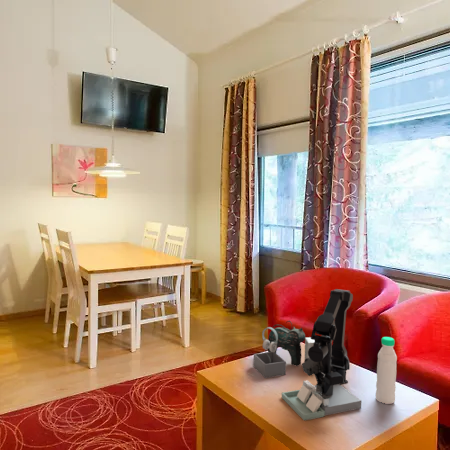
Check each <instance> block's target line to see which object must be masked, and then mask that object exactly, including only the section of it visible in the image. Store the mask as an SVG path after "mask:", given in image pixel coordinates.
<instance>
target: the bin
mask: <svg viewBox="0 0 450 450" xmlns="http://www.w3.org/2000/svg"><path fill="white" fill-rule="evenodd" d="M299 390H300V389H295V390H290V391H284V392H281V398H282V400H283V401H284V402H285V403H286V404H287V405H288V406H289V407H290V408H291V409H292V410H293V411H294V412H295V413H296V414H297V415H298V416H299V417H300V418H301V419H302V420H303V421H310V420H314V419H320V418H324V417H325V416H326V415H325V411H324V410H323V409H322V408H321V407H319V408H318V410H317V412H312V411H311V410H310V409H309V408H308V407H307V406H306V404H307V403H308V401H309V399H310V398H308V400H307V402H306V403H303V402H302V401H301V400H300V399H299V398H298V397H297V394H298V392H299Z"/></svg>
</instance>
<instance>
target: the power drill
mask: <svg viewBox="0 0 450 450" xmlns="http://www.w3.org/2000/svg"><path fill="white" fill-rule="evenodd" d="M288 322H289V323H290V324H291V325H293V322H292V321H291V320H287V321H286V323H285V324H287V323H288ZM275 326H276V327H275ZM279 326H280V327H279ZM279 326H278V327H277V324H274V325H272V327H271V328H273V329H274V330H275V331H276V332H277V334H278V341H277V349H276V351H275V353H276V354H277V351H278V347H280V348H281V349H283V350H285V351H287V352H288V353H289V357H290V365H291V366H295V367H298V366H300V365H301V366H302V357H303V356H302V346H301V343H303V342H305V338H306V334H305V332H304V330H303V328H302V327H300V328H296V327H295V326H291V329H289V328H288V327H287V328H286V327H285V326H284V325H282V324H279ZM267 340H269V341H270V344H271V342H276V336H275V334H274V332H273V331H272V330H271V331H270V332H269V334H268V339H267ZM267 352H271V351H270V349H268V350H267Z"/></svg>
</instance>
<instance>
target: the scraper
mask: <svg viewBox="0 0 450 450" xmlns="http://www.w3.org/2000/svg"><path fill="white" fill-rule="evenodd" d="M302 385H304V386H306V387H307V388H308V389H309V390H310V391H311V395H312V394H314V395H315V396H316V397H318V398H319V399H320V400H321V401H322V404H323V405H324V406H326V405H329V398H328V397H327V396H330V395H333V385H331V386H330V387H329V389H328V391H327V393H326V394H323V386H322V383H319V384H317V383H316V384H312V383H311V382H310V381H309V380H308V379H307V380H303V381H302ZM314 385H316V387H315V386H314Z"/></svg>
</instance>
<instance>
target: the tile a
mask: <svg viewBox="0 0 450 450" xmlns="http://www.w3.org/2000/svg"><path fill="white" fill-rule="evenodd" d="M298 390H299V392H298V394H297V397H298V398H299V399H300V400H301V401H302V402H303V403H306V402H307V400H308V398H309V396H310V394H311V391H310V390H309V389H308V388H307V387H306V386H304V385H303V384H302V385H301V387H300V388H299V389H298Z"/></svg>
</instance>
